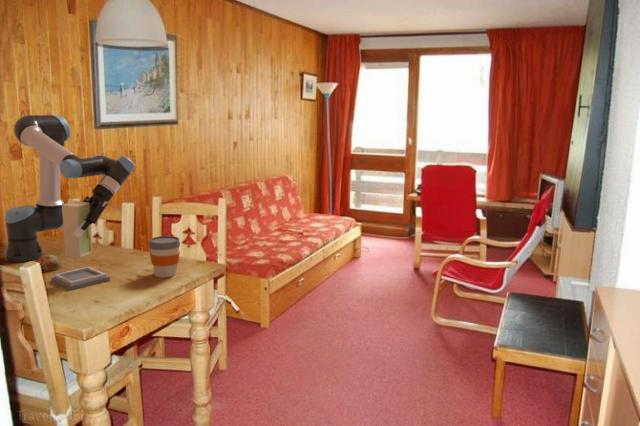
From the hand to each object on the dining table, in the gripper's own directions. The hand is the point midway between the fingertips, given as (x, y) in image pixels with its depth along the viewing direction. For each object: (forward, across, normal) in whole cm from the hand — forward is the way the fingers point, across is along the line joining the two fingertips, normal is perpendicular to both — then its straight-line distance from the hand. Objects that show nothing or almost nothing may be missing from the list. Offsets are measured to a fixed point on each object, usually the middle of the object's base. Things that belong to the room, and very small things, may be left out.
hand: (69, 233), depth 198 cm
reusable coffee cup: (-8, -17, -36) cm, 41 cm away
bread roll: (+14, +25, -15) cm, 32 cm away
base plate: (+12, 0, -16) cm, 20 cm away
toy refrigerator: (+5, 0, -9) cm, 10 cm away
